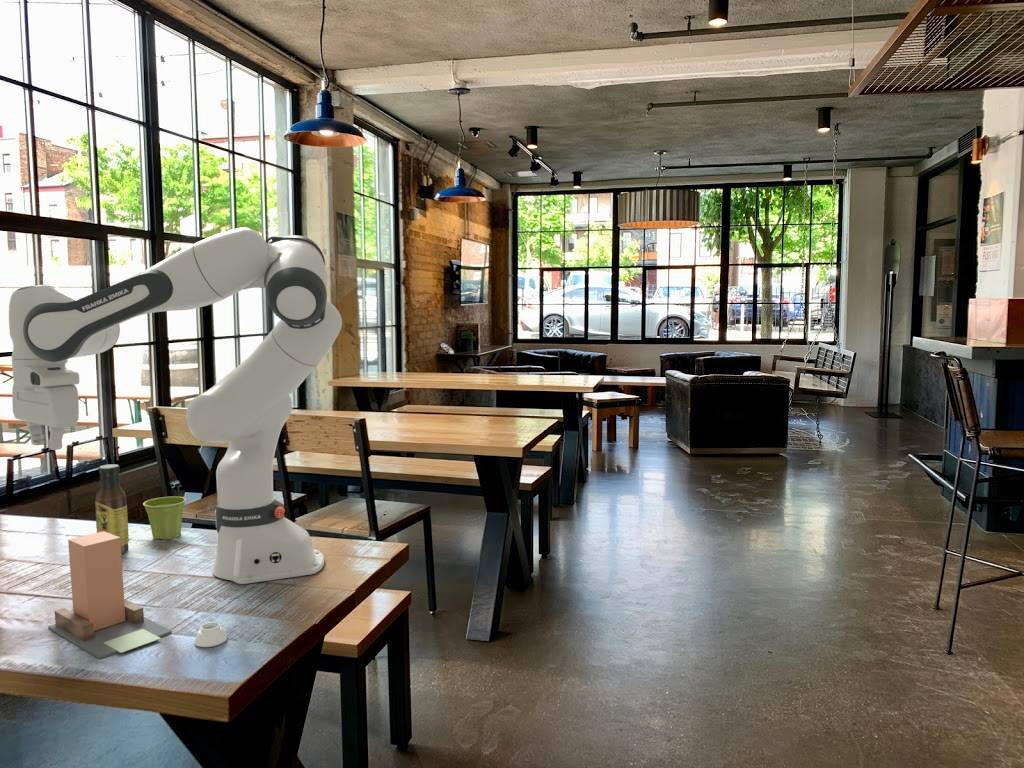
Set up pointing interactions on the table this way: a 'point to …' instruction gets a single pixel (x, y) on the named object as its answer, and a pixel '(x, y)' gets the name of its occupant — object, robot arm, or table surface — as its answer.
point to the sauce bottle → (112, 505)
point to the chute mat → (117, 637)
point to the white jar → (210, 635)
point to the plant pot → (165, 516)
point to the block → (97, 579)
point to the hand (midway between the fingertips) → (46, 446)
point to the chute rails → (85, 628)
